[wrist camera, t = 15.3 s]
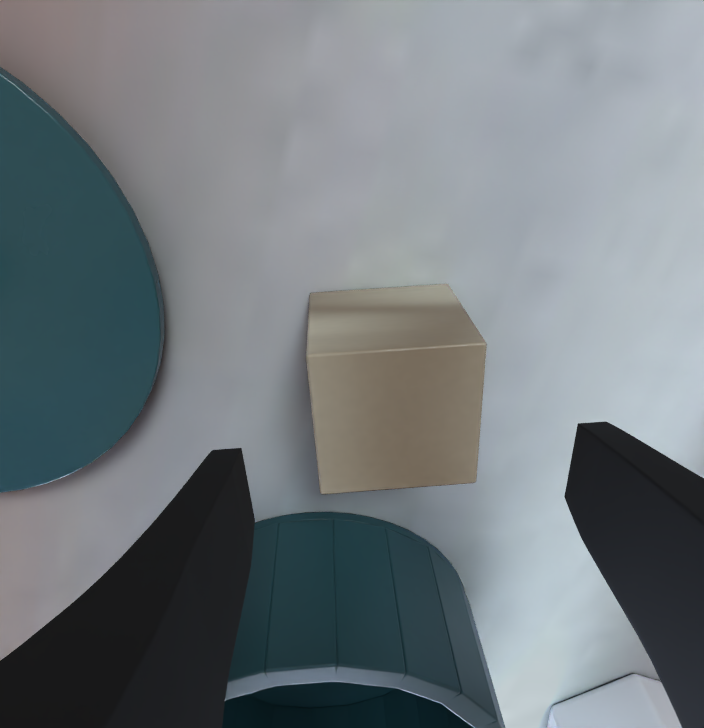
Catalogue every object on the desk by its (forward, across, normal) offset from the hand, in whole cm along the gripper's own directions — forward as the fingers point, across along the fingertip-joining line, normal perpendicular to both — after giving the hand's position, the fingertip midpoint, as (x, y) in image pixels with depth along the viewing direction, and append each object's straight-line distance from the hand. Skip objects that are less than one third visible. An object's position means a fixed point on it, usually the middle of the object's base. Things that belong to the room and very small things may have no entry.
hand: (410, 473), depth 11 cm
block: (+6, 0, 0) cm, 6 cm away
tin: (+6, +3, +13) cm, 15 cm away
